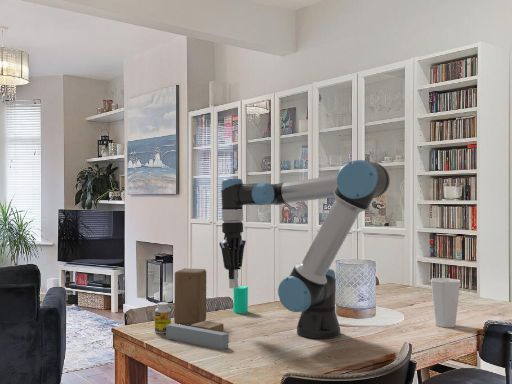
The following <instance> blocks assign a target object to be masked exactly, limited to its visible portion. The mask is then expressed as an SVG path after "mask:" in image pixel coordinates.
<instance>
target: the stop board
mask: <svg viewBox="0 0 512 384" xmlns="http://www.w3.org/2000/svg"><path fill="white" fill-rule="evenodd" d="M165 334H166V335H165V336H166V338H165V339H167V338H168V340H172V339H173V341H176V342H177V341H178V342H183V343H187V344H188V343H189V344H193V345H197V346H203V347H208V348H213V349H217V350H225V349H228V348H229V333H228V332H224V331H223V332H218V331H213V330H207V329H202V328H196V327H190V325H179V324H175V322H173V323H171V324H168V325H166V333H165Z"/></svg>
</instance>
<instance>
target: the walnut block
mask: <svg viewBox="0 0 512 384" xmlns="http://www.w3.org/2000/svg"><path fill="white" fill-rule="evenodd" d="M189 326H190V327H196V328H202V329H207V330H213V331H218V332H224V323H222V322H216V321H209V320H205V321H202V322H199V323H196V324H192V325H189Z"/></svg>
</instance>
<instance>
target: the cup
mask: <svg viewBox="0 0 512 384" xmlns="http://www.w3.org/2000/svg"><path fill="white" fill-rule="evenodd" d="M430 287H431V295H432V304H433V305H432V306H433V316H434V324H435V326H436V327H440V328H455V327H456V324H457V323H456V322H457V313H458V306H459V296H460V288H461V280H460V279H455V278H449V277H432V278H431V279H430Z"/></svg>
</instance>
